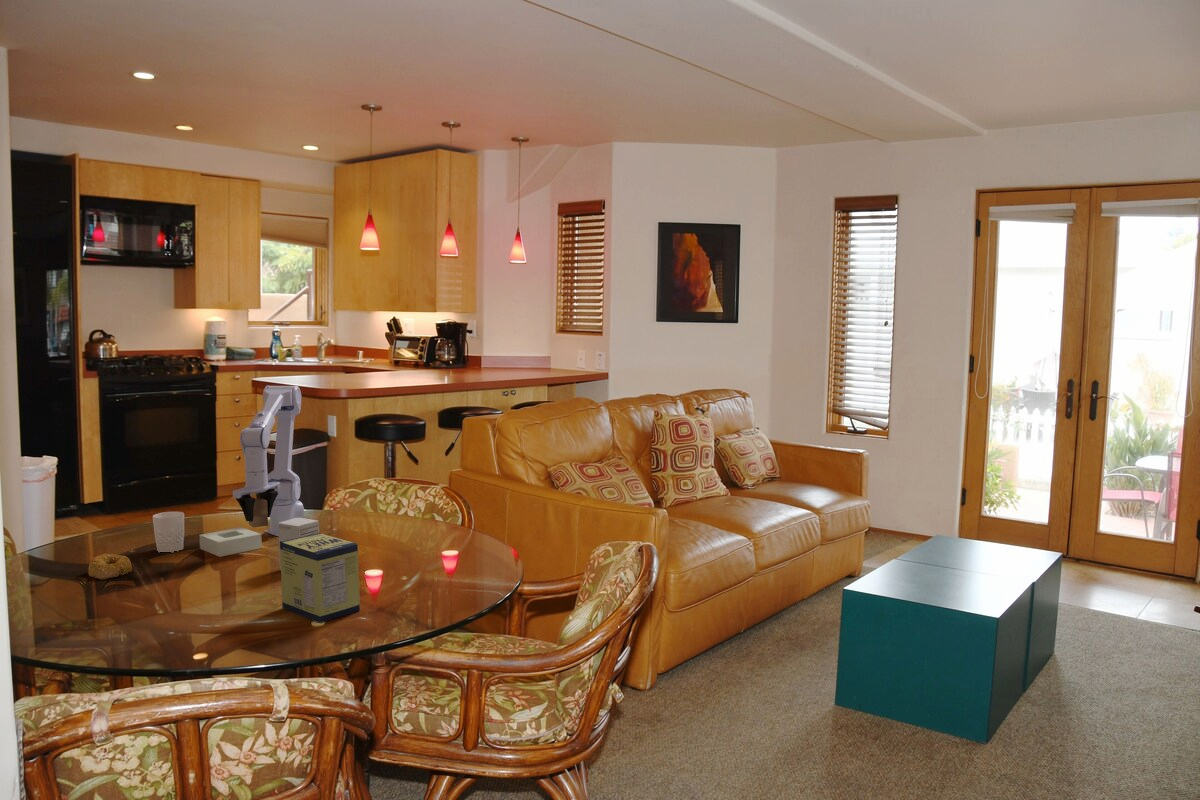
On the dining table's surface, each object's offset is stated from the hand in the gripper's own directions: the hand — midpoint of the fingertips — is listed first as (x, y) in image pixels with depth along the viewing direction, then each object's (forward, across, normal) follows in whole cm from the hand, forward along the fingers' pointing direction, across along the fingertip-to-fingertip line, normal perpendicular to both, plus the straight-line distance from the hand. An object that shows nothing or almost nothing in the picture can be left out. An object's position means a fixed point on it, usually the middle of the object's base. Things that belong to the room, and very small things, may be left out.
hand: (258, 518), depth 249 cm
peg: (+2, 0, 0) cm, 2 cm away
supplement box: (+9, +7, +23) cm, 26 cm away
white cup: (+9, +12, -22) cm, 27 cm away
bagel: (+9, +34, -15) cm, 38 cm away
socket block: (+9, +3, -8) cm, 13 cm away
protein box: (+9, +27, +52) cm, 59 cm away
